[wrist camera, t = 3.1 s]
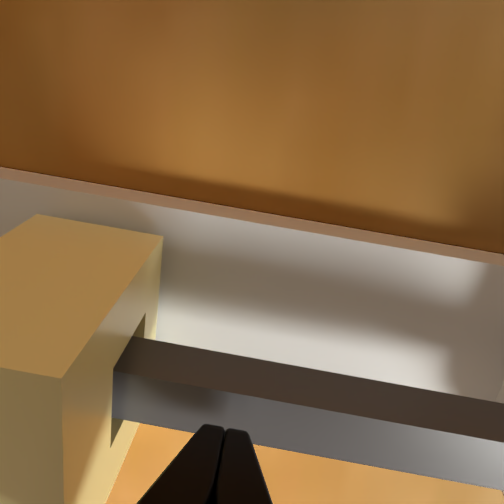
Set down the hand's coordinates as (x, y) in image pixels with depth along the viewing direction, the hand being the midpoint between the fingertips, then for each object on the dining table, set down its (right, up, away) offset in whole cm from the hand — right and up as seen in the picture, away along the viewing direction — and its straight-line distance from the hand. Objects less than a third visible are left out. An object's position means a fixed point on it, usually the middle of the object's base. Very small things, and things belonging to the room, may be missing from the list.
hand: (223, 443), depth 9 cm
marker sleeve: (-3, +2, +3) cm, 5 cm away
